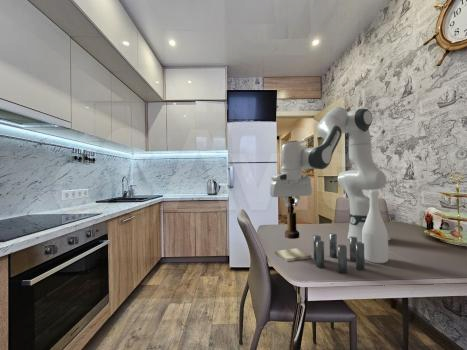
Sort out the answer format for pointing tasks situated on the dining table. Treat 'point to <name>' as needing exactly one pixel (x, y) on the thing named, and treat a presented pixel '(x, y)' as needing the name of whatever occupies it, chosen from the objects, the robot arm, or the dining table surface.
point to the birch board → (292, 254)
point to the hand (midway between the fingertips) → (291, 206)
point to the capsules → (340, 253)
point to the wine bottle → (375, 233)
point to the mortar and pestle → (291, 222)
